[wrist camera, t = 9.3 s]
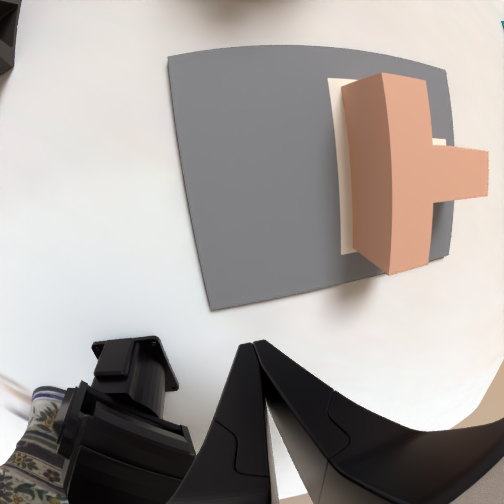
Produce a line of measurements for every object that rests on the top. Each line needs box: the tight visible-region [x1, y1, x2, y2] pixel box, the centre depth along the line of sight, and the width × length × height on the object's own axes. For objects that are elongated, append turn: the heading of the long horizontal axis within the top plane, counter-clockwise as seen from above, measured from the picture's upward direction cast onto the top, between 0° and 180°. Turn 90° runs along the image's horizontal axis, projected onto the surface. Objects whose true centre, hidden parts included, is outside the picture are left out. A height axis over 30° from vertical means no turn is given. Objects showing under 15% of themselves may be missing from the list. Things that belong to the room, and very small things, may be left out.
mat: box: [168, 45, 454, 310], centre depth 18 cm, size 18×23×1 cm
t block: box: [341, 72, 489, 275], centre depth 16 cm, size 12×10×5 cm
